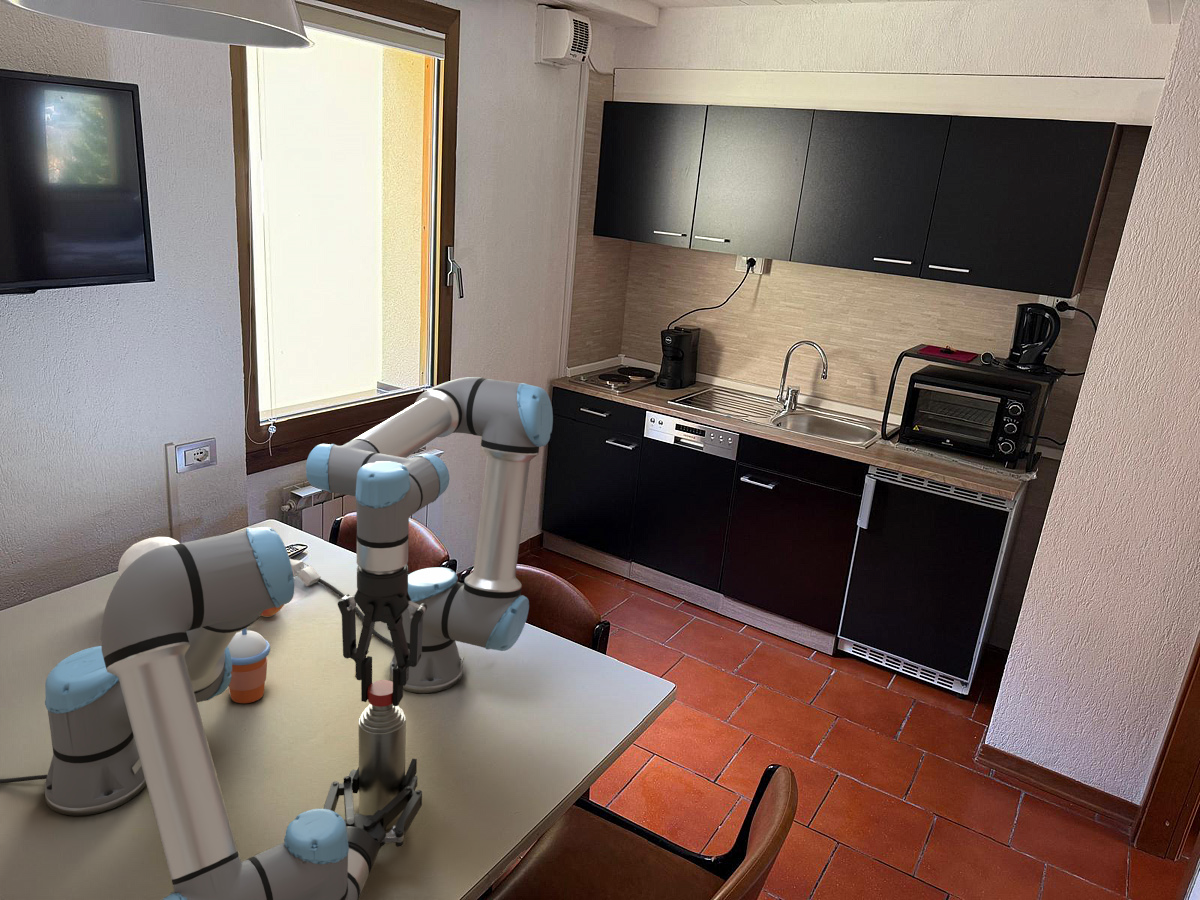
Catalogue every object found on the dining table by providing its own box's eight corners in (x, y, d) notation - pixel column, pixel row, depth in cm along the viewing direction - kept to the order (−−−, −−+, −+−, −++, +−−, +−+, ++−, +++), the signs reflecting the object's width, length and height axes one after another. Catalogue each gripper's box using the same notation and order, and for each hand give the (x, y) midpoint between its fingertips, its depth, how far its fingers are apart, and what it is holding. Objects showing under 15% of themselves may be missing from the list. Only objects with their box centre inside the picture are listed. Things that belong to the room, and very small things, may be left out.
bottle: (369, 836, 137) (368, 708, 130) (352, 809, 142) (351, 684, 135) (411, 820, 141) (413, 695, 134) (394, 794, 147) (395, 672, 140)
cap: (373, 710, 132) (373, 699, 132) (363, 695, 136) (363, 684, 135) (401, 701, 135) (401, 690, 134) (390, 687, 138) (390, 676, 138)
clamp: (253, 565, 223) (254, 542, 221) (265, 560, 226) (266, 537, 224) (309, 593, 215) (310, 569, 213) (320, 588, 218) (321, 564, 216)
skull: (184, 624, 193) (181, 559, 189) (106, 604, 199) (101, 541, 195) (225, 601, 206) (223, 539, 202) (150, 583, 211) (147, 523, 207)
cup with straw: (255, 711, 165) (250, 629, 160) (212, 703, 167) (207, 621, 161) (281, 686, 174) (278, 607, 168) (240, 678, 175) (236, 599, 170)
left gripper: (276, 878, 124) (332, 775, 146) (413, 893, 123) (449, 787, 145) (274, 836, 122) (331, 738, 144) (414, 851, 121) (450, 750, 143)
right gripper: (446, 560, 131) (442, 692, 138) (336, 547, 133) (338, 679, 139) (431, 582, 124) (428, 720, 131) (316, 568, 125) (319, 705, 132)
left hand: (390, 763), depth 145 cm, fingers closed on bottle, 7 cm apart
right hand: (382, 698), depth 135 cm, fingers closed on cap, 4 cm apart
